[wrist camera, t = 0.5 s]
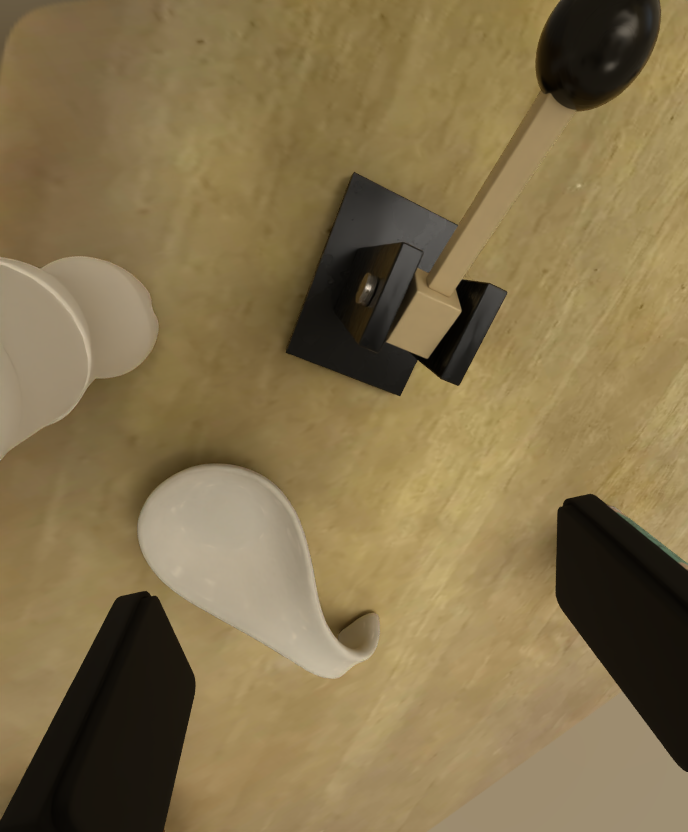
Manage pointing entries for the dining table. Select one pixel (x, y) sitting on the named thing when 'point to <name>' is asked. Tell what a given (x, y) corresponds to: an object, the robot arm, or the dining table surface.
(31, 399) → the water bottle
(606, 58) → the switch lever
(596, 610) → the robot arm
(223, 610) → the spoon rest
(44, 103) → the dining table surface
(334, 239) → the bracket
